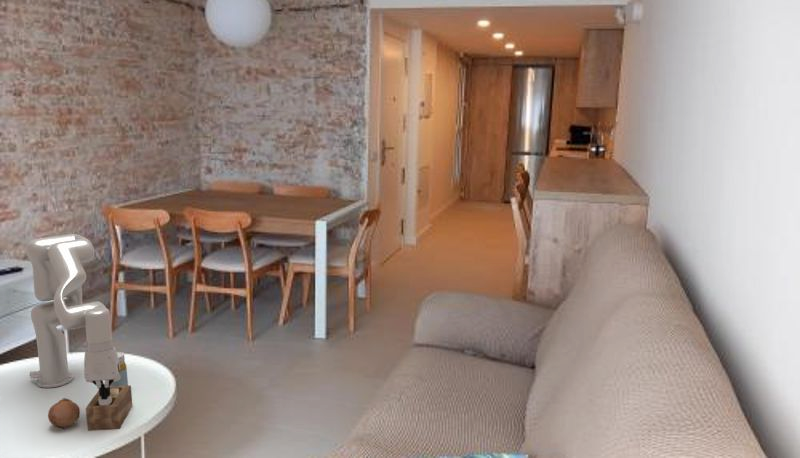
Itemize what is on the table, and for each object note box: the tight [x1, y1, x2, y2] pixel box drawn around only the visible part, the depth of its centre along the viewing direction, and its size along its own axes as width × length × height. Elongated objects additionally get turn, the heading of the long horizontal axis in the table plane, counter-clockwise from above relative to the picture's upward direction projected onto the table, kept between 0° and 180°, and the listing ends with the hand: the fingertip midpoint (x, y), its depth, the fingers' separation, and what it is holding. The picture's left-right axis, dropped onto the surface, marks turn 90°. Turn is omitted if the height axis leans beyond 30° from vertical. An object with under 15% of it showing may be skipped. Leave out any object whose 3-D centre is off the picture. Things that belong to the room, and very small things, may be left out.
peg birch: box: [110, 388, 119, 395], centre depth 224 cm, size 4×4×8 cm
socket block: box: [85, 384, 134, 432], centre depth 220 cm, size 10×16×8 cm, turn 8°
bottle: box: [110, 351, 129, 386], centre depth 238 cm, size 7×7×15 cm
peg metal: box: [98, 395, 112, 406], centre depth 216 cm, size 4×4×8 cm
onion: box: [47, 397, 81, 430], centre depth 215 cm, size 10×9×10 cm
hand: (105, 397), depth 215 cm, fingers closed
